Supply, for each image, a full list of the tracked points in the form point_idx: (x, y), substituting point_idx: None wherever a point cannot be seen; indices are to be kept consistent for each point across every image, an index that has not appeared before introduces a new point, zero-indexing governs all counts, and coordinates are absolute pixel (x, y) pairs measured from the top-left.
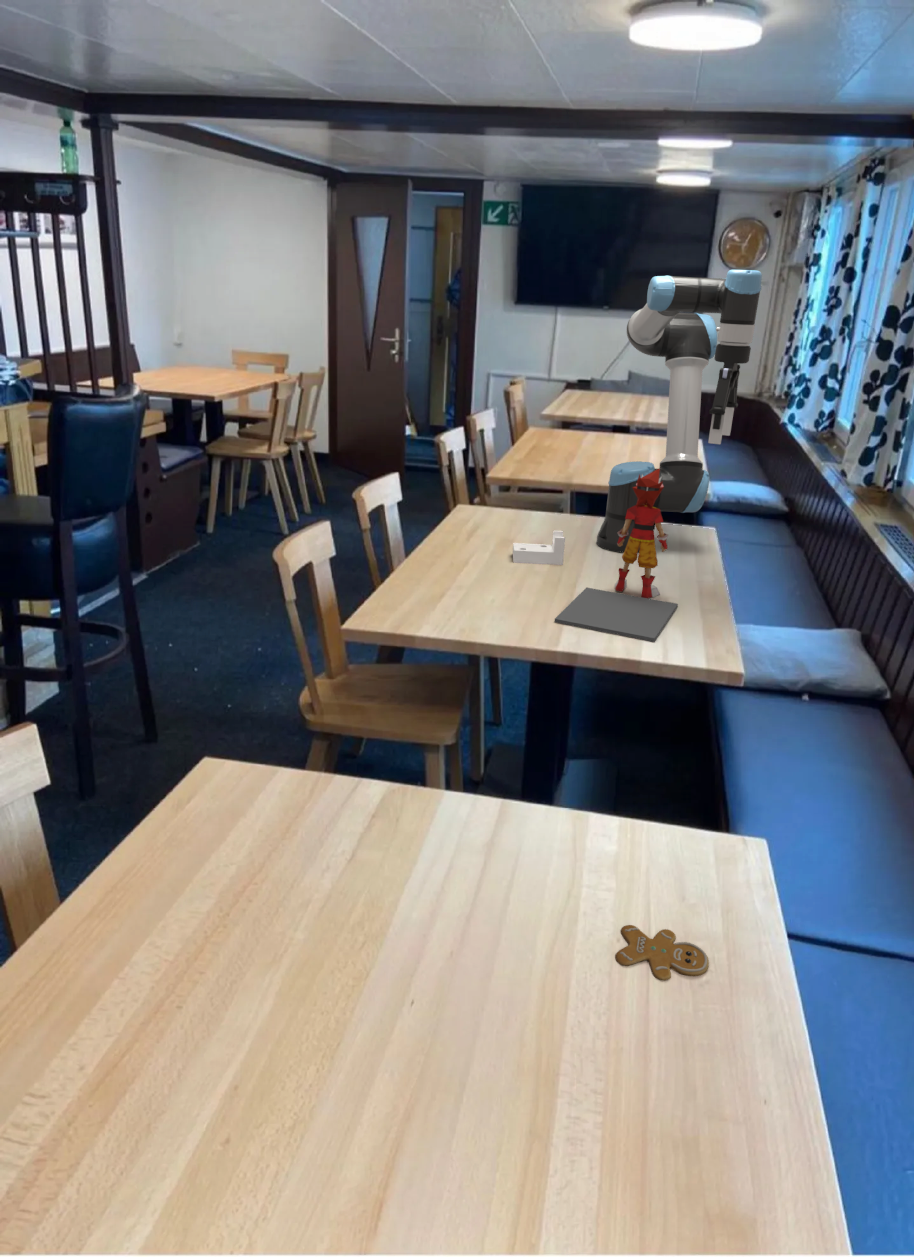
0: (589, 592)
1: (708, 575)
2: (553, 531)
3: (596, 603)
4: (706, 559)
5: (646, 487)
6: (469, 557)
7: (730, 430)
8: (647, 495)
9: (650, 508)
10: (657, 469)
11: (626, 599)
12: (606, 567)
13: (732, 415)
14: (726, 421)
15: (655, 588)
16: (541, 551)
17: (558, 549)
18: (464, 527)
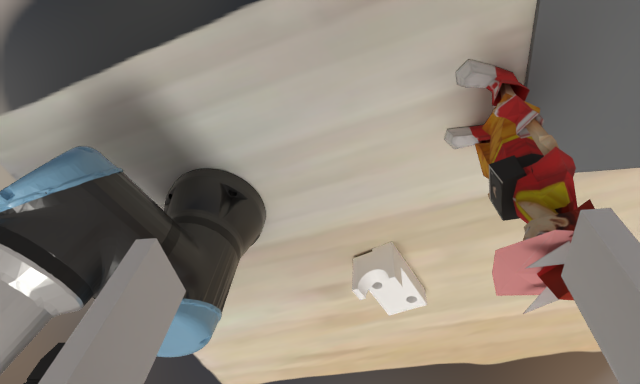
0: None
1: (267, 15)
2: (365, 298)
3: (604, 134)
4: (161, 59)
5: None
6: (436, 328)
7: (130, 265)
8: None
9: (573, 202)
10: (567, 298)
11: (556, 99)
12: (359, 190)
13: (69, 379)
14: (125, 347)
15: (480, 72)
16: (406, 279)
17: (398, 266)
18: (314, 365)
